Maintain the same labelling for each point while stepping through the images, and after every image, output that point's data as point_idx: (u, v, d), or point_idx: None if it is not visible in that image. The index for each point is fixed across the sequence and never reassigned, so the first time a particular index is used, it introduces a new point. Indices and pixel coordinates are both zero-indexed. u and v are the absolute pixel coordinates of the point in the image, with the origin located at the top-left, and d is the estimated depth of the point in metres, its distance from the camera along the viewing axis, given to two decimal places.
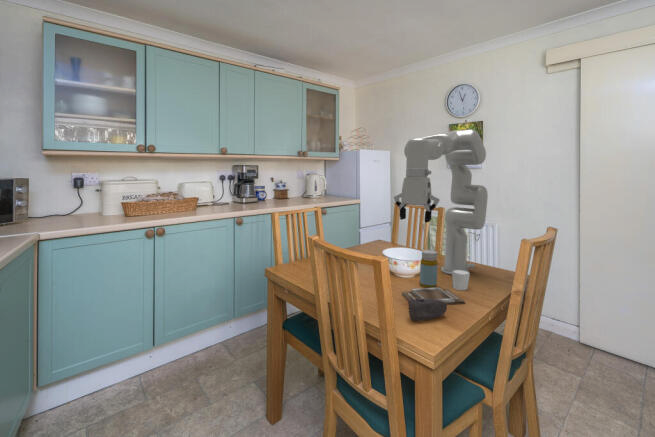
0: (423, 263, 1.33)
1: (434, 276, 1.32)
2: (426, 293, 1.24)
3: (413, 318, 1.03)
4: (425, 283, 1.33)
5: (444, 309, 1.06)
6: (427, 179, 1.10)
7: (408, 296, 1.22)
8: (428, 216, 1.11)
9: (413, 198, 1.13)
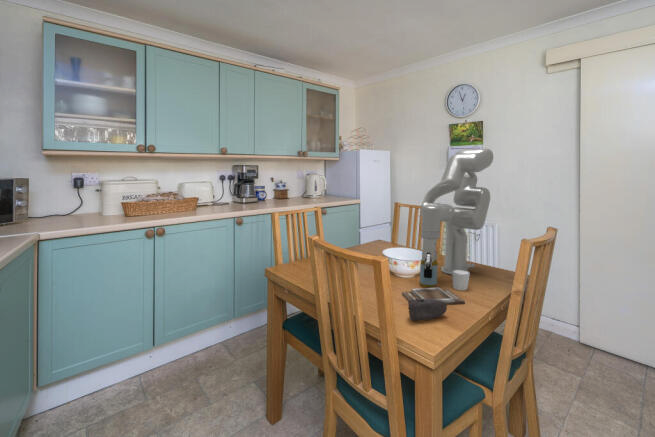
0: (423, 263, 1.33)
1: (434, 276, 1.32)
2: (426, 293, 1.24)
3: (413, 318, 1.03)
4: (425, 283, 1.33)
5: (444, 309, 1.06)
6: None
7: (408, 296, 1.22)
8: None
9: None
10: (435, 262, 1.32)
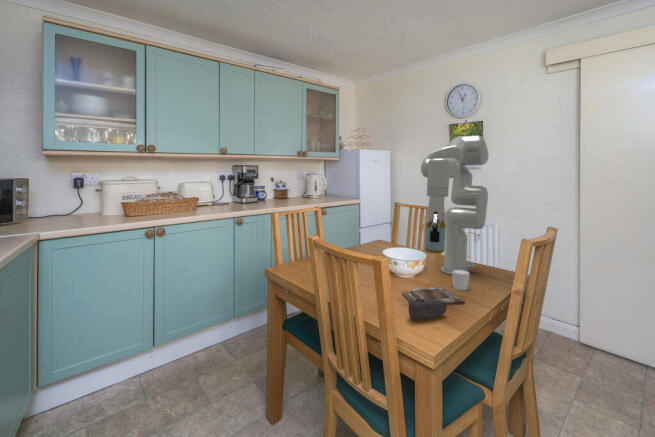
0: (429, 225, 1.16)
1: (442, 240, 1.15)
2: (426, 293, 1.24)
3: (413, 318, 1.03)
4: (431, 248, 1.16)
5: (444, 309, 1.06)
6: None
7: (408, 296, 1.22)
8: None
9: None
10: (443, 224, 1.15)
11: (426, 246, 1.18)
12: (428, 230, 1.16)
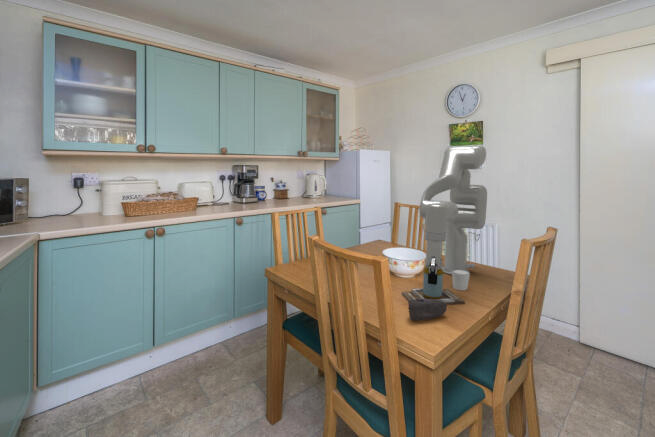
0: (427, 272, 1.18)
1: (439, 287, 1.18)
2: None
3: (413, 318, 1.03)
4: (429, 295, 1.18)
5: (444, 309, 1.06)
6: None
7: (408, 296, 1.22)
8: None
9: None
10: (440, 271, 1.17)
11: (424, 292, 1.20)
12: (426, 277, 1.19)
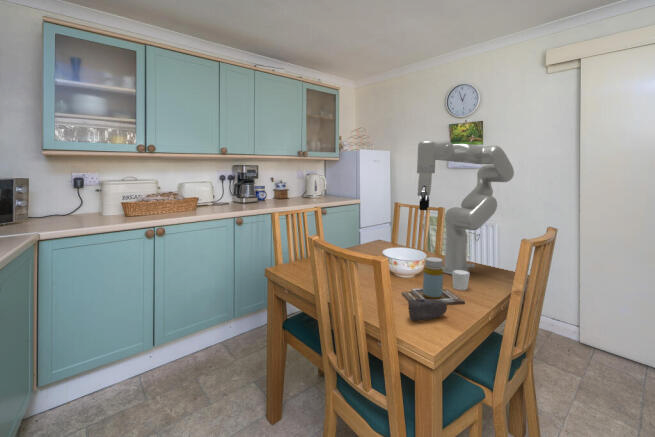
0: (427, 272, 1.18)
1: (439, 287, 1.18)
2: None
3: (413, 318, 1.03)
4: (429, 295, 1.18)
5: (444, 309, 1.06)
6: None
7: (408, 296, 1.22)
8: (427, 202, 1.44)
9: (430, 190, 1.38)
10: (440, 271, 1.17)
11: (424, 292, 1.20)
12: (426, 277, 1.19)
